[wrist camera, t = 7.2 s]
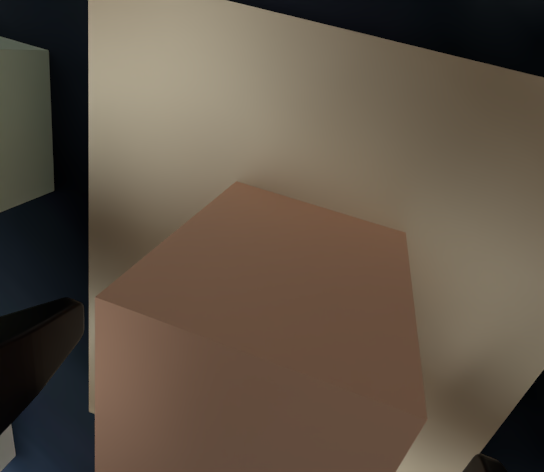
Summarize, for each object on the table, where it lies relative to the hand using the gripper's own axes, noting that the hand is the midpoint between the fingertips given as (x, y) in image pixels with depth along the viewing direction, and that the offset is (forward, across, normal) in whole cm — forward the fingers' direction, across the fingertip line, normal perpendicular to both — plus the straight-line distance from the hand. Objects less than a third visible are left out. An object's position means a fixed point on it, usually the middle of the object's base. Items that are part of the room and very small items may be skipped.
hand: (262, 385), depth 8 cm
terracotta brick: (+2, 0, 0) cm, 2 cm away
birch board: (+3, 0, 0) cm, 3 cm away
